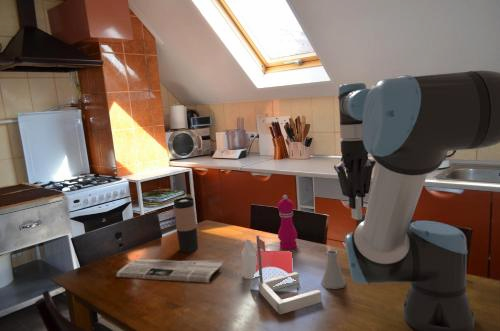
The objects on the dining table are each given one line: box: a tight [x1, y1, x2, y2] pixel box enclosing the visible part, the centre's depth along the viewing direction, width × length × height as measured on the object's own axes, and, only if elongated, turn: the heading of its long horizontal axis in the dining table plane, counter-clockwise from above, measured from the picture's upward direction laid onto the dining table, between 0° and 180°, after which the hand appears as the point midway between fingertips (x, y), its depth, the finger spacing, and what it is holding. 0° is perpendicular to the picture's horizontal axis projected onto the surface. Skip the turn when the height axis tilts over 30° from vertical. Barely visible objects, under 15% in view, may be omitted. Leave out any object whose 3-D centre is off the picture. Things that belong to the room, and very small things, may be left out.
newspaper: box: [115, 257, 225, 283], centre depth 128 cm, size 35×12×4 cm, turn 74°
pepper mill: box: [277, 194, 298, 251], centre depth 140 cm, size 7×7×20 cm
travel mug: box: [173, 196, 199, 253], centre depth 146 cm, size 8×8×20 cm
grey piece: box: [240, 238, 258, 280], centre depth 119 cm, size 6×12×6 cm
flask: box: [320, 249, 347, 290], centre depth 109 cm, size 7×7×10 cm
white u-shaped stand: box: [256, 235, 323, 315], centre depth 104 cm, size 14×12×17 cm
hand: (356, 218), depth 110 cm, fingers closed
